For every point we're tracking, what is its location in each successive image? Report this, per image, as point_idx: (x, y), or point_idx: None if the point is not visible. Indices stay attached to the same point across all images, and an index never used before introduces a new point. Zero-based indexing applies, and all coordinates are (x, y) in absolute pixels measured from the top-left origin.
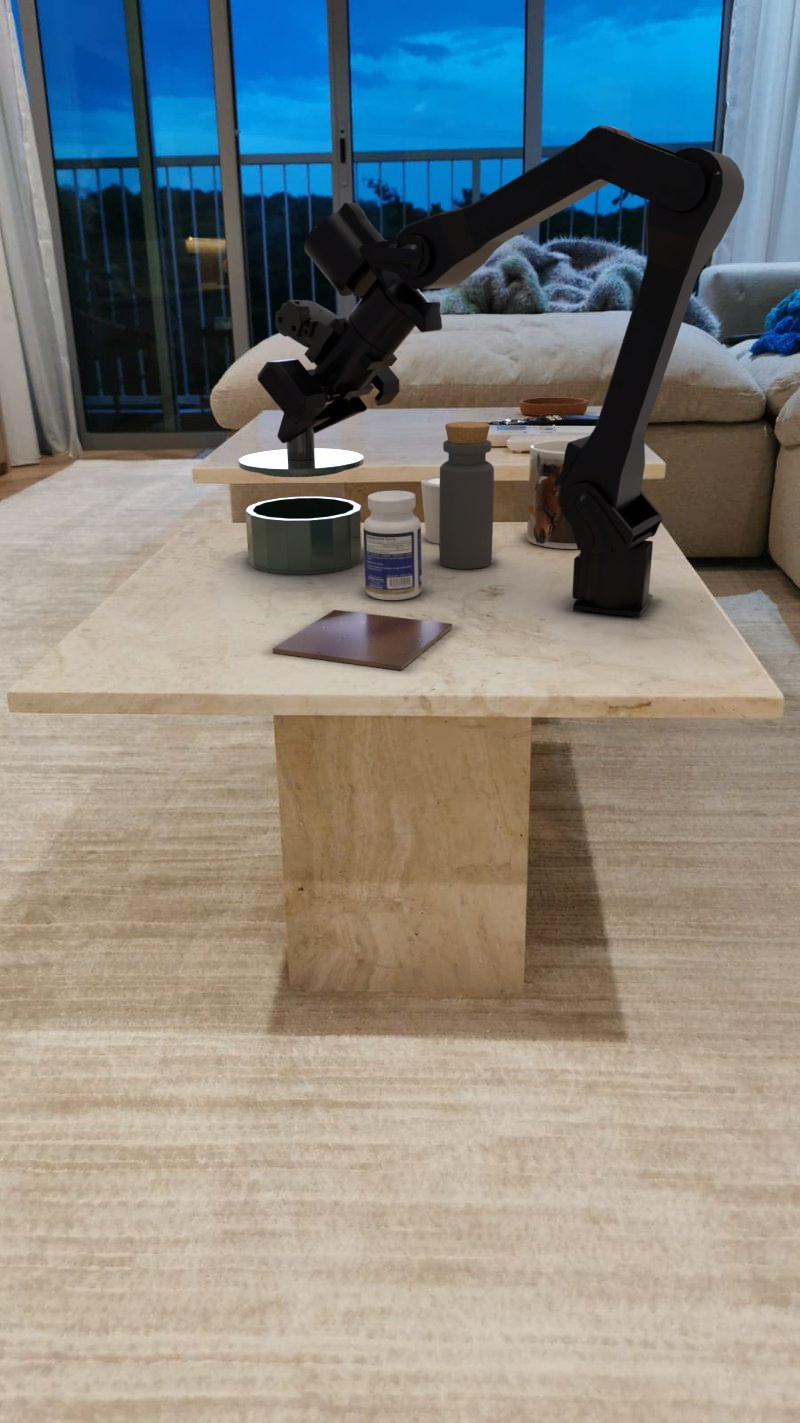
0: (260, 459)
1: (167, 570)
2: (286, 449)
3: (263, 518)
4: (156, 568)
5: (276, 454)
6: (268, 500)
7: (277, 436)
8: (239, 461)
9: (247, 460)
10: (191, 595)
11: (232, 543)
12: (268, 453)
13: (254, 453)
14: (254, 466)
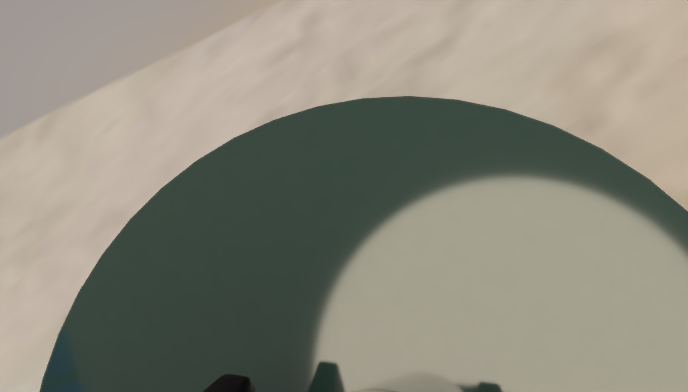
0: (253, 260)
1: (195, 92)
2: (655, 198)
3: None
4: (202, 53)
5: (443, 249)
6: None
7: (224, 376)
8: (166, 188)
9: (203, 210)
10: (25, 295)
11: (535, 55)
12: (457, 181)
13: (428, 102)
14: (54, 356)
